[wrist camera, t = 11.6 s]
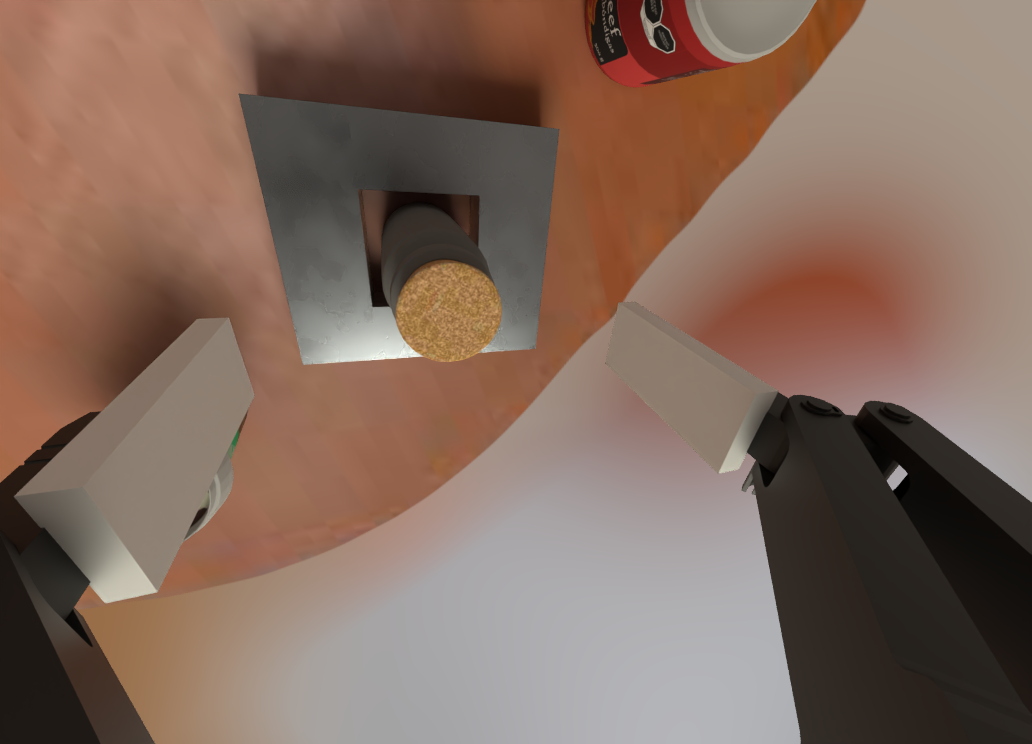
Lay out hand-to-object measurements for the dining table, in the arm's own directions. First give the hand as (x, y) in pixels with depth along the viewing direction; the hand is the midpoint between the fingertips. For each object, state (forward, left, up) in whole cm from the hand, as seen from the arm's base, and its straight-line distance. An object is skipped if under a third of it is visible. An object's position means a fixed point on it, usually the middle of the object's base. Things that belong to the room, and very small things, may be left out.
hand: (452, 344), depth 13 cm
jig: (0, 0, -19) cm, 19 cm away
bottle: (0, 0, -19) cm, 19 cm away
